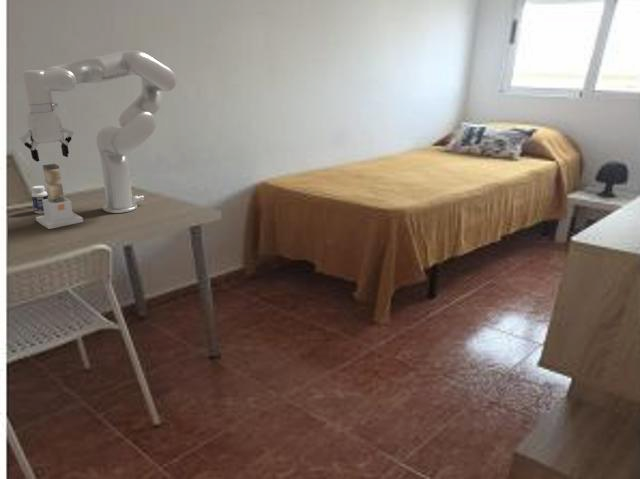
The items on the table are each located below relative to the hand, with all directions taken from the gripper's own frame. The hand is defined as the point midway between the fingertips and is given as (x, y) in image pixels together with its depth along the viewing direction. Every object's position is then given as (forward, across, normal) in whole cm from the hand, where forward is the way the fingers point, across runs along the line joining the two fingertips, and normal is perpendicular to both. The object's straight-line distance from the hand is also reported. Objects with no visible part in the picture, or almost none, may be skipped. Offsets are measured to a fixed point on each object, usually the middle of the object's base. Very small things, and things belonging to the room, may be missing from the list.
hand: (51, 158), depth 186 cm
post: (+17, +1, 0) cm, 17 cm away
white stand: (+23, +1, 0) cm, 23 cm away
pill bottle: (+23, +2, -16) cm, 28 cm away
